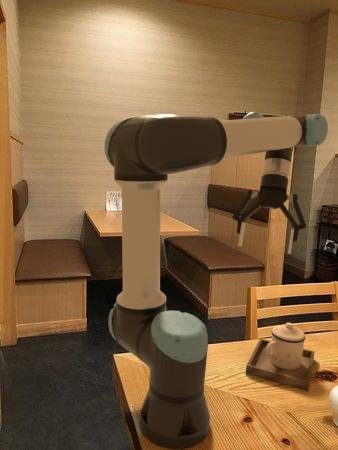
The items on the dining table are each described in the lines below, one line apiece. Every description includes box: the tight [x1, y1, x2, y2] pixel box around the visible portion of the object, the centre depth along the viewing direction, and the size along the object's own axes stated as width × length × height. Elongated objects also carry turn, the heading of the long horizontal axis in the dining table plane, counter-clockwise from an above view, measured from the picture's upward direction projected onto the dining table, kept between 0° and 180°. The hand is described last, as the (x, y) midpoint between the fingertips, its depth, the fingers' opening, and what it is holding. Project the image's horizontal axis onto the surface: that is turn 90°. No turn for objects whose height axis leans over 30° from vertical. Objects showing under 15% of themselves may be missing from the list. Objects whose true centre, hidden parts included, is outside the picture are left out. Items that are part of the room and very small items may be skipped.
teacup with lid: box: [266, 322, 306, 370], centre depth 106 cm, size 12×9×12 cm
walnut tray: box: [245, 338, 316, 392], centre depth 107 cm, size 16×18×2 cm
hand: (264, 249), depth 106 cm, fingers open, 13 cm apart
